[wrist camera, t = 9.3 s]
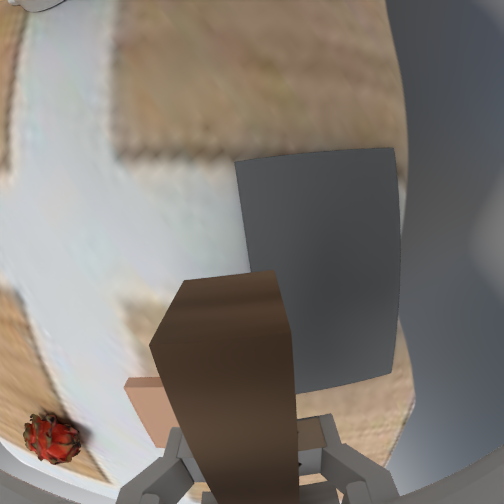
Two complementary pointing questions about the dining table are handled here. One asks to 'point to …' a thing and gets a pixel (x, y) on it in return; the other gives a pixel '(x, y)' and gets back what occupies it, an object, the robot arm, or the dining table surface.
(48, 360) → the dining table surface
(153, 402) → the tile
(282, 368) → the wooden post on base
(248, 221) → the mat
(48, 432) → the dragon fruit
